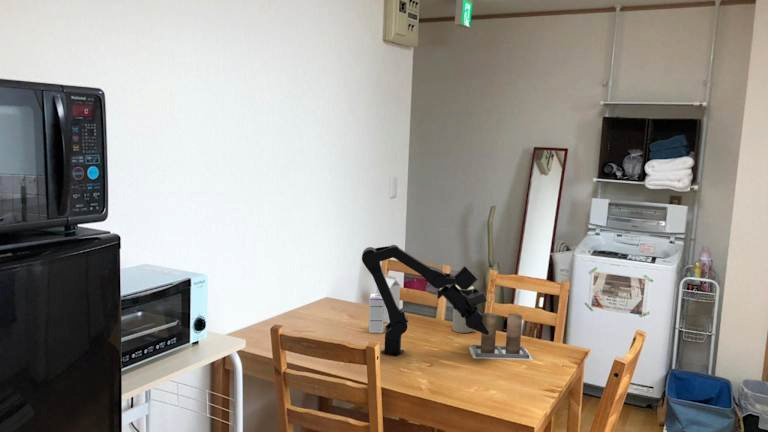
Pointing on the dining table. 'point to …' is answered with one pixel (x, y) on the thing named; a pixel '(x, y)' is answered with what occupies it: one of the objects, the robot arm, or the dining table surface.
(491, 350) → the billet
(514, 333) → the billet
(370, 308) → the syrup box
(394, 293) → the milk carton
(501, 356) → the pallet board
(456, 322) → the travel mug
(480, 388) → the dining table surface
